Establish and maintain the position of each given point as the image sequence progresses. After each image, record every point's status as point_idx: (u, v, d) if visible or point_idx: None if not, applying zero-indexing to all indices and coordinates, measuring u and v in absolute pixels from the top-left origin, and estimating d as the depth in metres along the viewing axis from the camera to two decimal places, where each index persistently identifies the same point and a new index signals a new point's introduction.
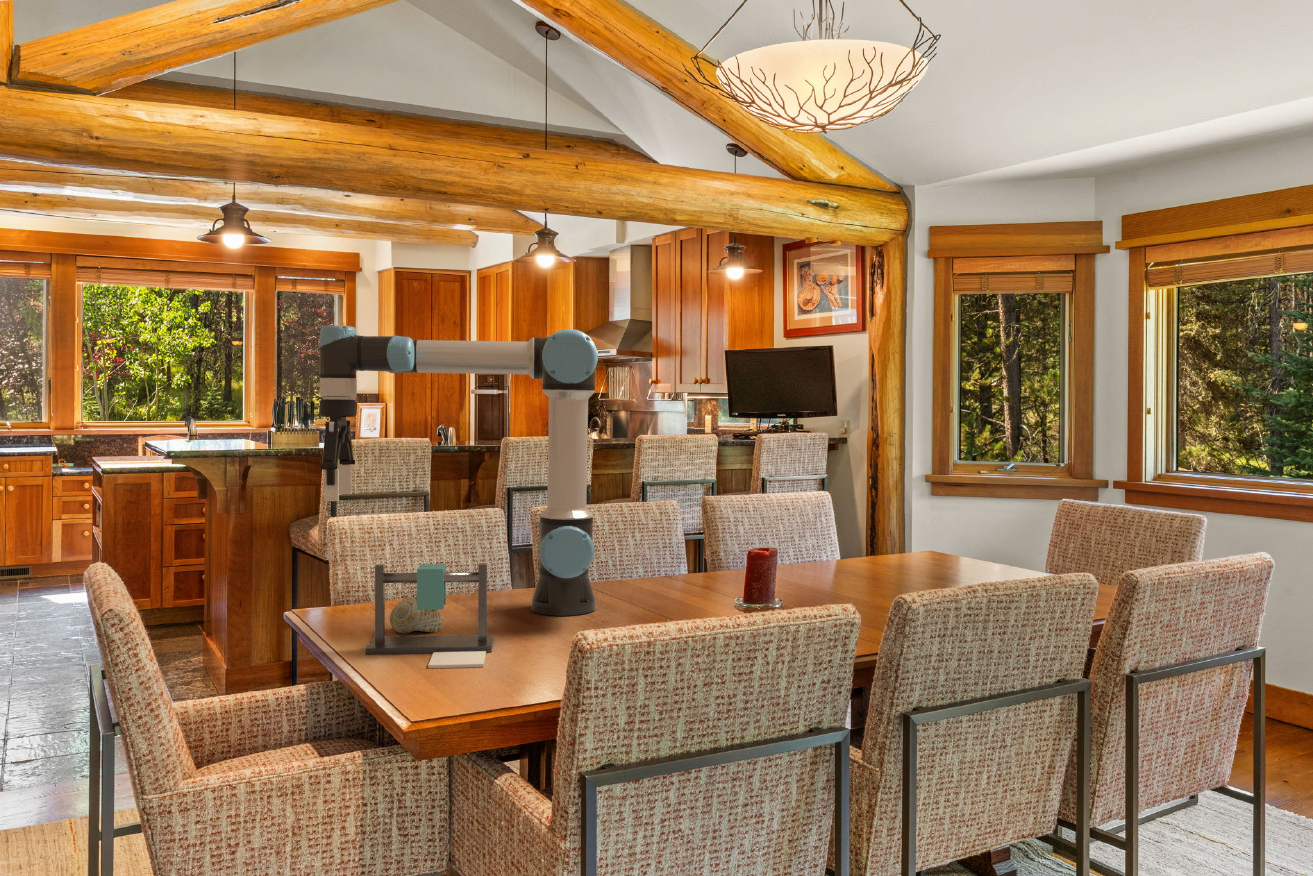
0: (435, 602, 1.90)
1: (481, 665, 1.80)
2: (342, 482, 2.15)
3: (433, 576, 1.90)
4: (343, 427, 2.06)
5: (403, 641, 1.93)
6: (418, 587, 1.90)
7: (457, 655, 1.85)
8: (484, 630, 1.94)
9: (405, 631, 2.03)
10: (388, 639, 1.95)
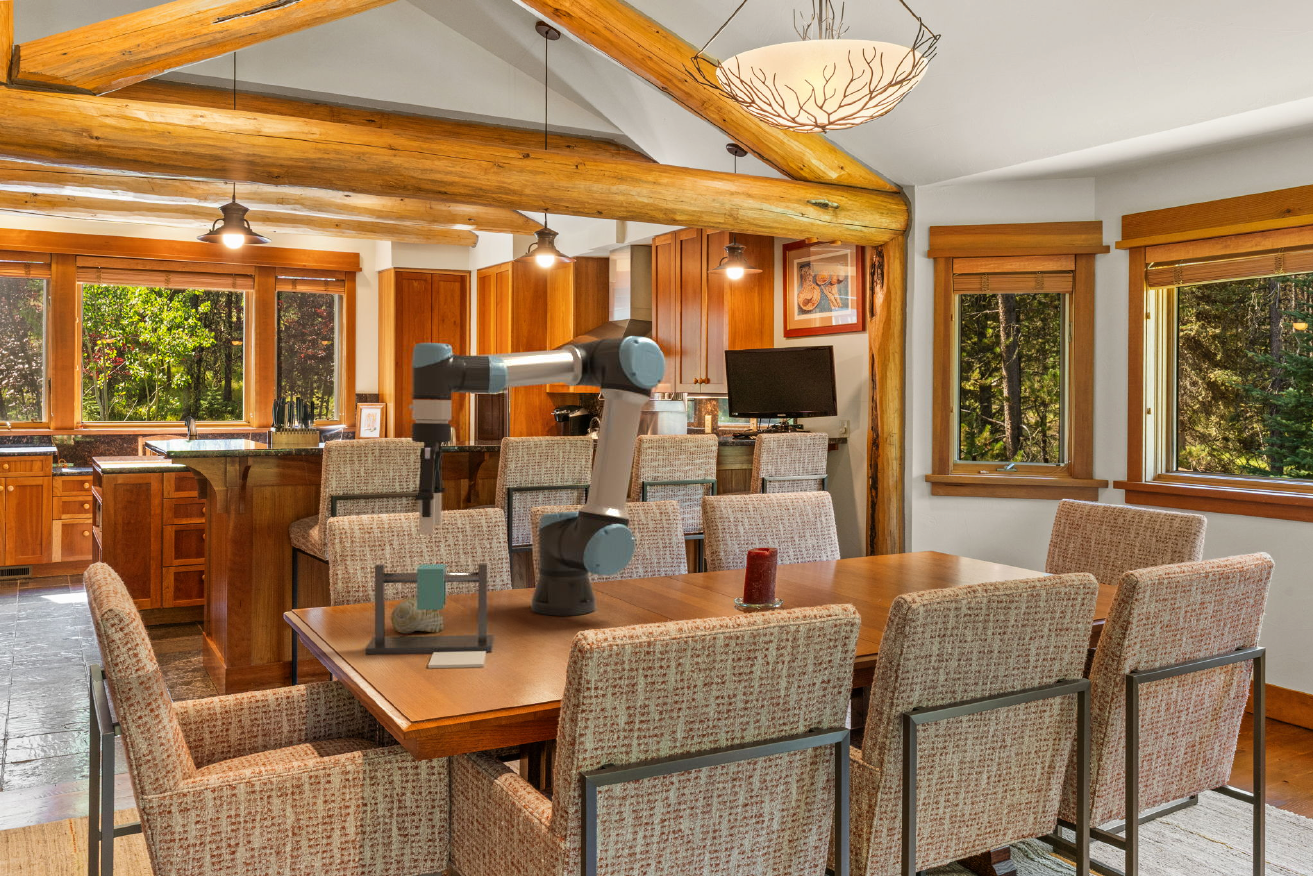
0: (435, 602, 1.90)
1: (481, 665, 1.80)
2: None
3: (433, 576, 1.90)
4: (437, 453, 1.90)
5: (403, 641, 1.93)
6: (418, 587, 1.90)
7: (457, 655, 1.85)
8: (484, 630, 1.94)
9: (406, 631, 2.03)
10: (388, 639, 1.95)
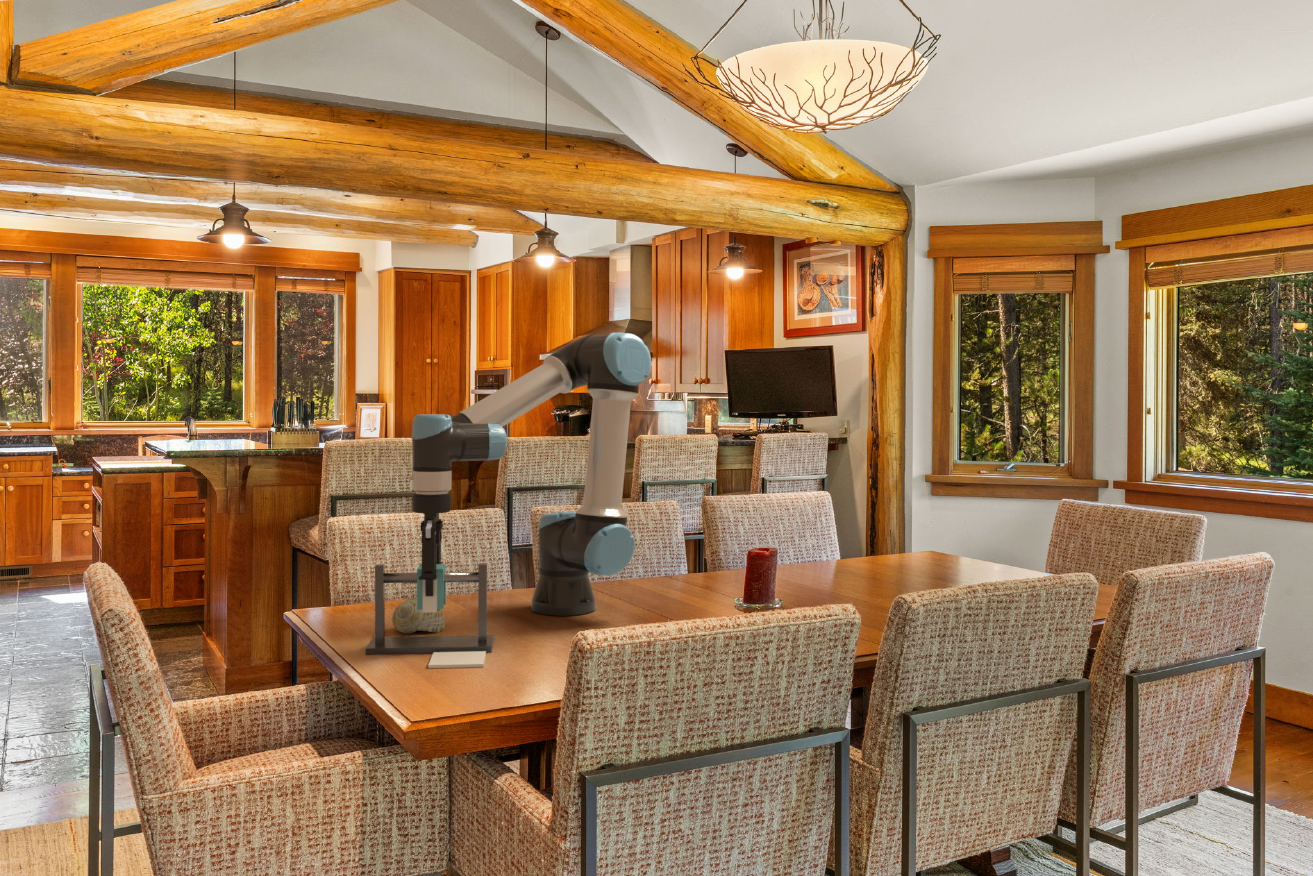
0: None
1: (481, 665, 1.80)
2: None
3: None
4: (438, 525, 1.91)
5: (403, 641, 1.93)
6: (418, 587, 1.90)
7: (457, 655, 1.85)
8: (484, 630, 1.94)
9: (408, 631, 2.03)
10: (388, 639, 1.95)
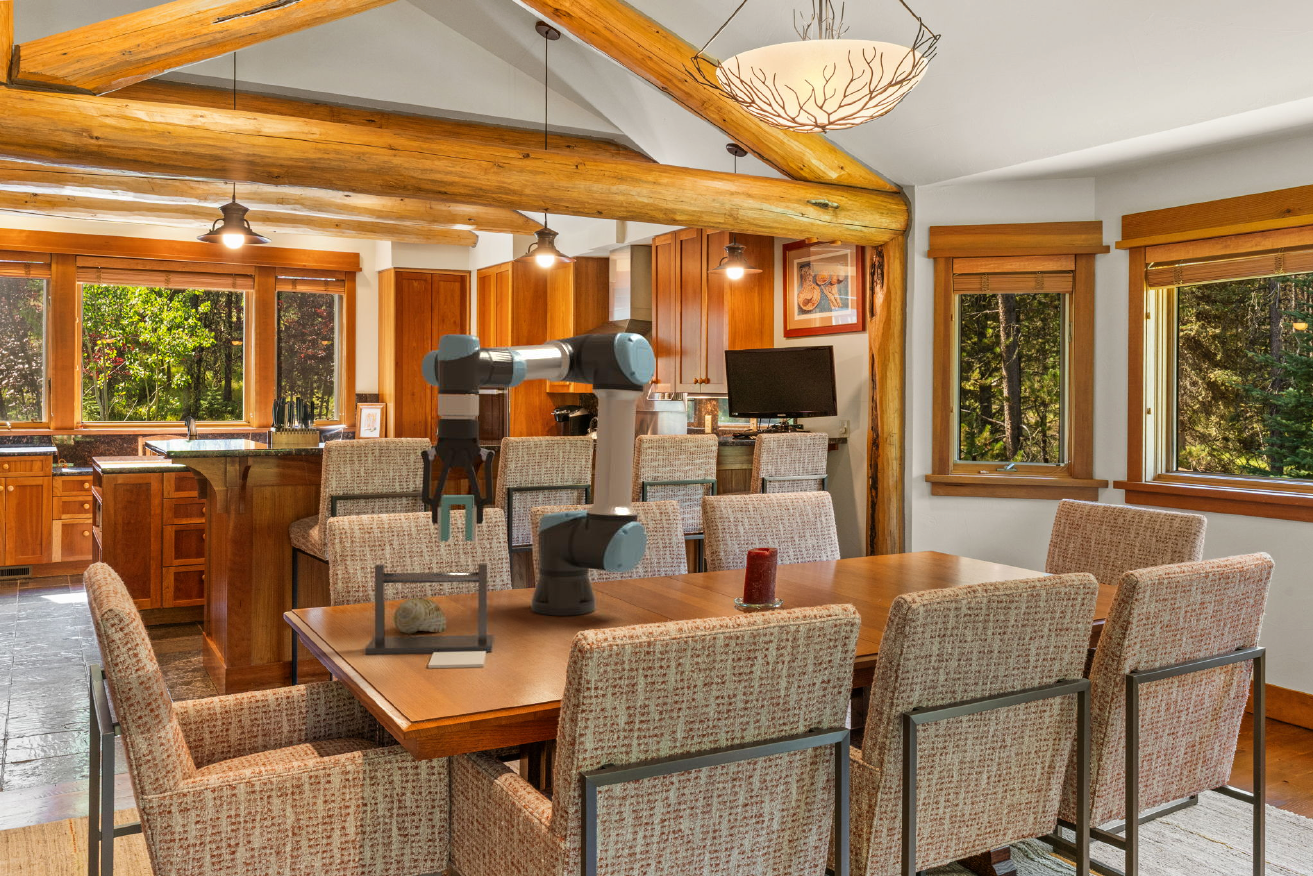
0: None
1: (481, 665, 1.80)
2: None
3: None
4: (447, 452, 1.80)
5: (403, 641, 1.93)
6: None
7: (457, 655, 1.85)
8: (484, 630, 1.94)
9: (409, 631, 2.03)
10: (388, 639, 1.95)
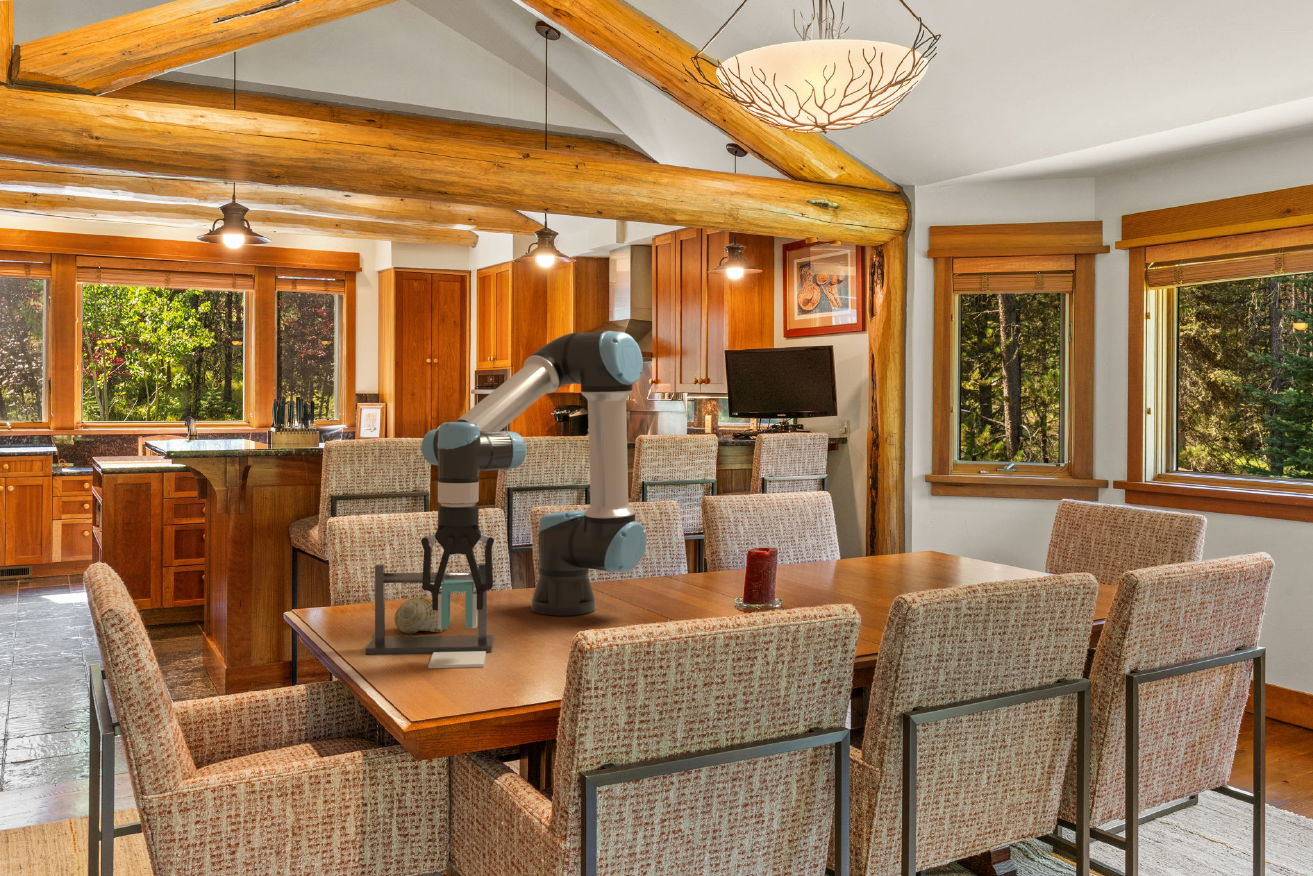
0: None
1: (481, 665, 1.80)
2: None
3: None
4: (447, 539, 1.81)
5: (403, 641, 1.93)
6: None
7: (457, 655, 1.85)
8: (484, 630, 1.94)
9: (410, 631, 2.03)
10: (388, 639, 1.95)
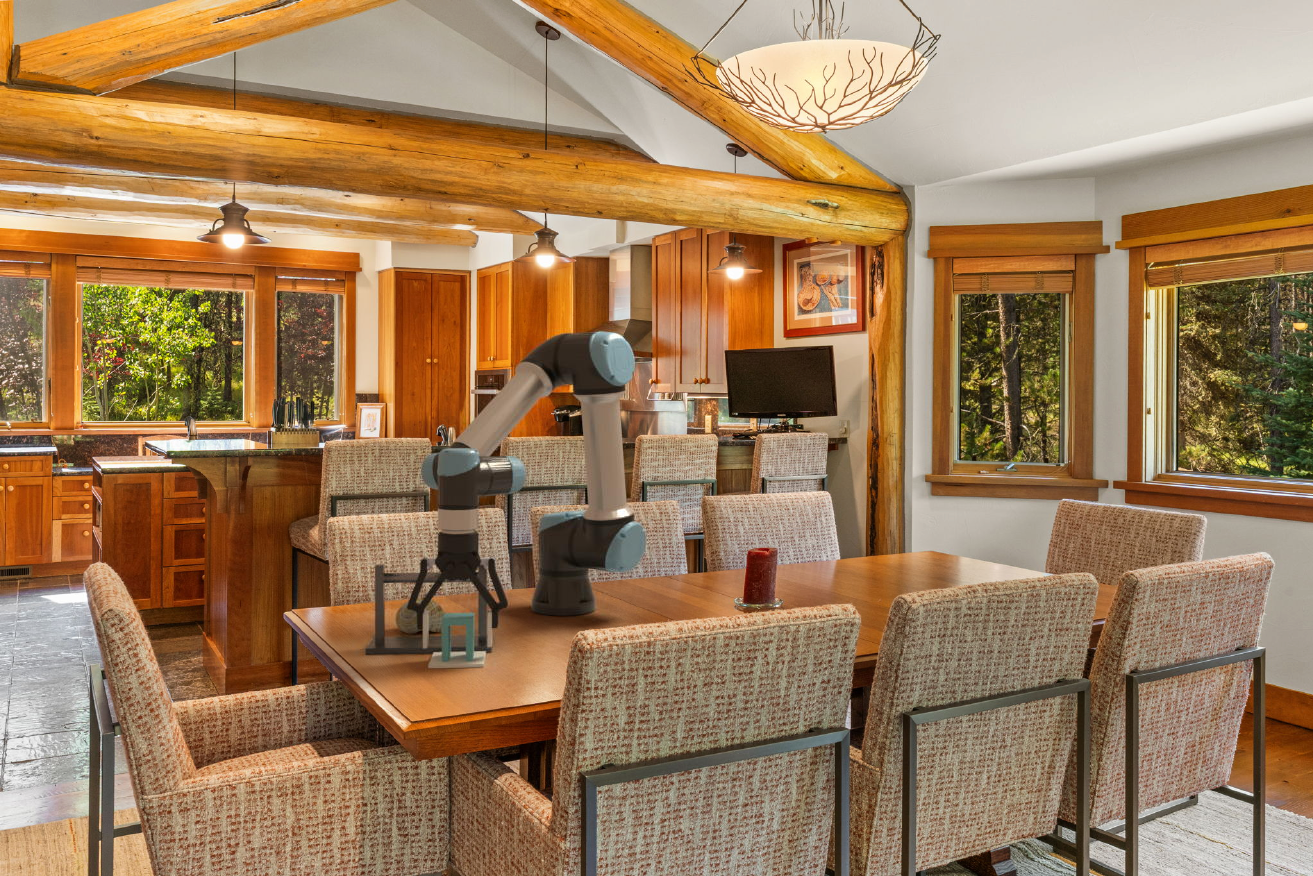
0: None
1: (481, 665, 1.80)
2: None
3: None
4: (447, 564, 1.81)
5: (403, 641, 1.93)
6: None
7: (457, 655, 1.85)
8: (484, 630, 1.94)
9: (412, 631, 2.03)
10: (388, 639, 1.95)
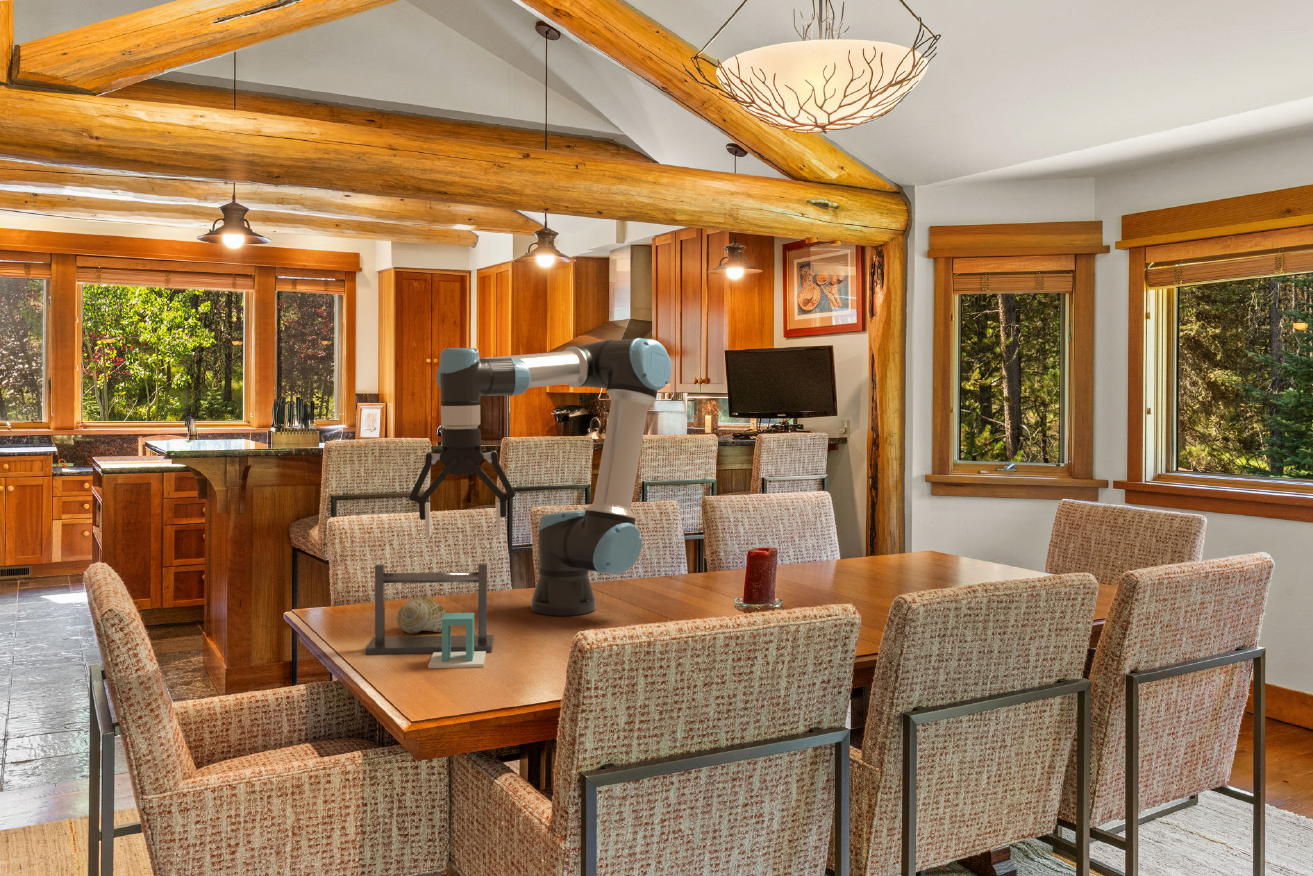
0: None
1: (481, 665, 1.80)
2: None
3: None
4: (452, 459, 1.89)
5: (403, 641, 1.93)
6: None
7: (457, 655, 1.85)
8: (484, 630, 1.94)
9: (413, 631, 2.03)
10: (388, 639, 1.95)
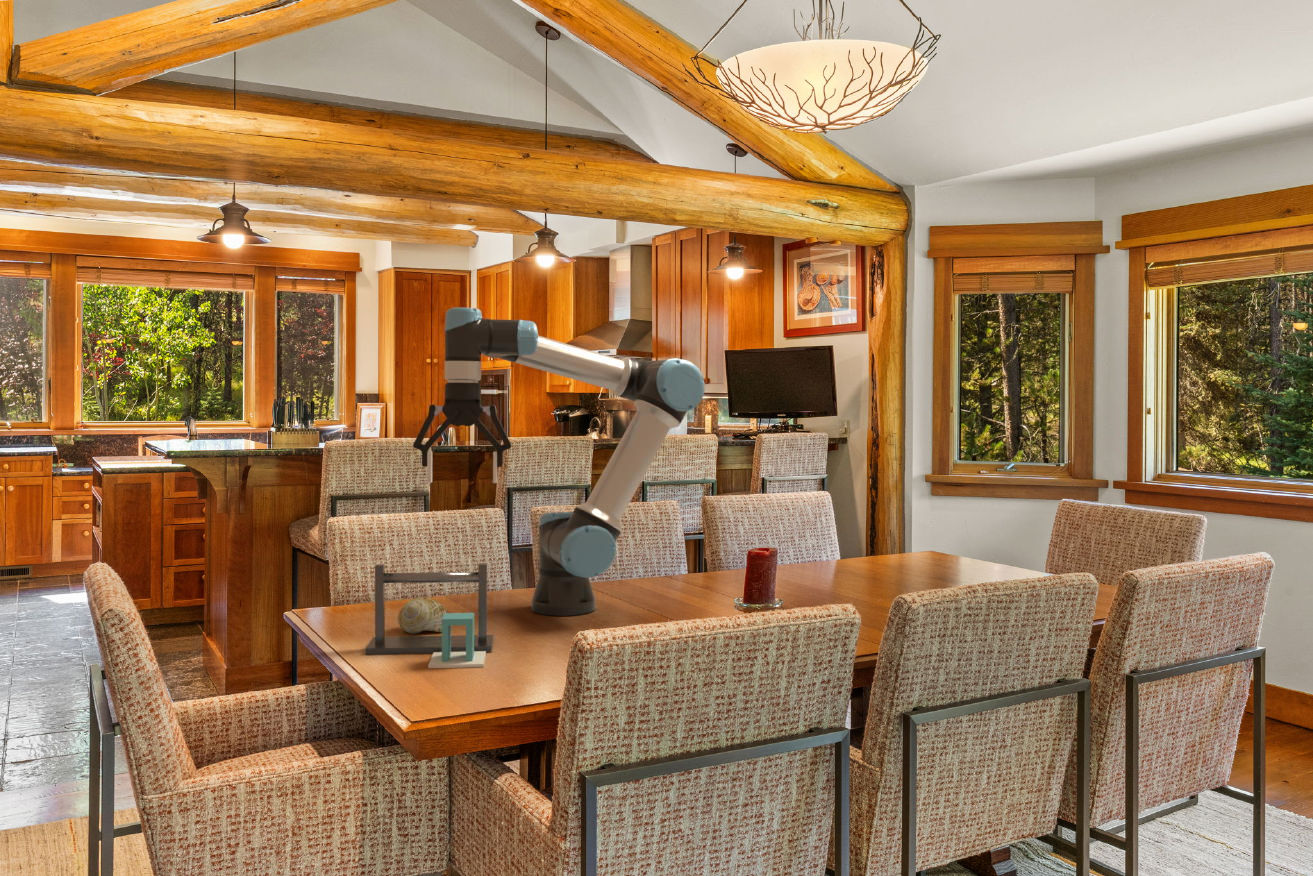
0: None
1: (481, 665, 1.80)
2: None
3: None
4: (453, 411, 2.03)
5: (403, 641, 1.93)
6: None
7: (457, 655, 1.85)
8: (484, 630, 1.94)
9: (414, 631, 2.03)
10: (388, 639, 1.95)
